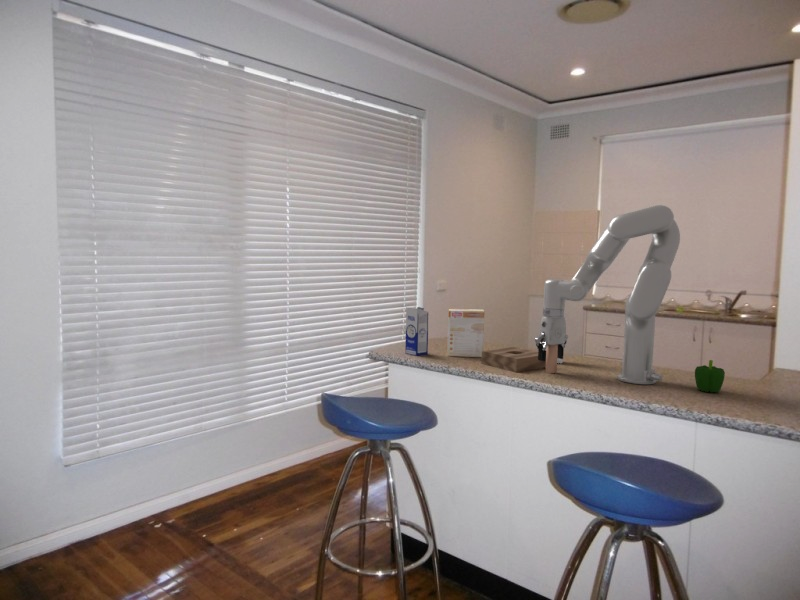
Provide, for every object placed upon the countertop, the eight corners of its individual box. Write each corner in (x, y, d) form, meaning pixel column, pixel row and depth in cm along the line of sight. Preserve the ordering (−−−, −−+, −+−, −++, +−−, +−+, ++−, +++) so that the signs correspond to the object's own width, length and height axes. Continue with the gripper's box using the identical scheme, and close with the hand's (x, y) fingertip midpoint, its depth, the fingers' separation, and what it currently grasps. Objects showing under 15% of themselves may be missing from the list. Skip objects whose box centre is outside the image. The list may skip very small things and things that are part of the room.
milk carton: (404, 353, 231) (405, 306, 229) (416, 351, 235) (417, 305, 233) (416, 356, 225) (417, 308, 224) (427, 354, 230) (429, 307, 228)
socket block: (548, 367, 208) (548, 354, 208) (516, 372, 198) (516, 358, 198) (513, 358, 223) (513, 347, 223) (481, 363, 213) (481, 350, 212)
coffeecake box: (482, 354, 232) (484, 309, 230) (483, 357, 225) (484, 311, 223) (447, 353, 233) (448, 308, 232) (447, 356, 226) (448, 309, 225)
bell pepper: (716, 396, 170) (718, 364, 169) (689, 390, 177) (691, 360, 176) (728, 392, 175) (730, 361, 174) (701, 386, 182) (703, 357, 181)
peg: (558, 373, 198) (560, 340, 197) (551, 374, 196) (553, 341, 195) (550, 370, 202) (551, 339, 200) (543, 372, 199) (544, 340, 198)
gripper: (546, 315, 189) (543, 363, 190) (576, 313, 199) (573, 359, 200) (529, 313, 195) (526, 359, 196) (560, 311, 205) (557, 355, 207)
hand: (550, 359), depth 198 cm, fingers open, 9 cm apart
